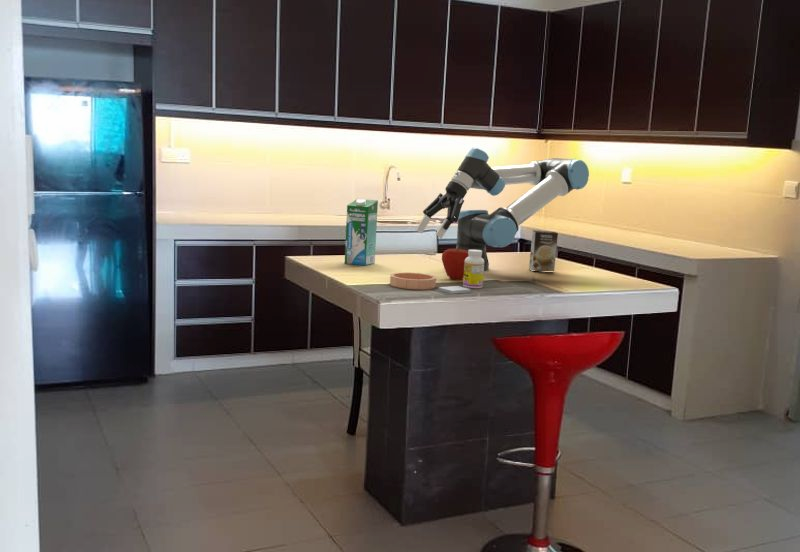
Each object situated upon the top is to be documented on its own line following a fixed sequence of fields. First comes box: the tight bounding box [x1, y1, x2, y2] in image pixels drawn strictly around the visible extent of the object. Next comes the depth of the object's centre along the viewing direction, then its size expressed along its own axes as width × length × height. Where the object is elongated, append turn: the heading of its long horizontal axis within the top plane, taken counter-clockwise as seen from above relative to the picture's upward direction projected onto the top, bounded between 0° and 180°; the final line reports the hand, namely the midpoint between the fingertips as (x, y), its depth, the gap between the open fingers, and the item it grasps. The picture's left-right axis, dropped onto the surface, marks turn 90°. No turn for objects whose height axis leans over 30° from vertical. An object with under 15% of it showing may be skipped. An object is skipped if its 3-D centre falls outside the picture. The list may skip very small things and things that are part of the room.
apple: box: [441, 247, 469, 281], centre depth 274 cm, size 11×11×12 cm
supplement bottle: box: [462, 250, 485, 289], centre depth 260 cm, size 7×7×13 cm
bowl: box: [389, 272, 437, 290], centre depth 256 cm, size 15×15×4 cm
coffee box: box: [528, 230, 559, 272], centre depth 308 cm, size 9×6×16 cm
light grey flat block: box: [438, 285, 471, 295], centre depth 249 cm, size 8×6×1 cm
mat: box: [430, 288, 477, 296], centre depth 249 cm, size 12×9×1 cm
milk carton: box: [344, 198, 379, 266], centre depth 302 cm, size 9×9×25 cm
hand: (428, 233), depth 280 cm, fingers open, 13 cm apart
